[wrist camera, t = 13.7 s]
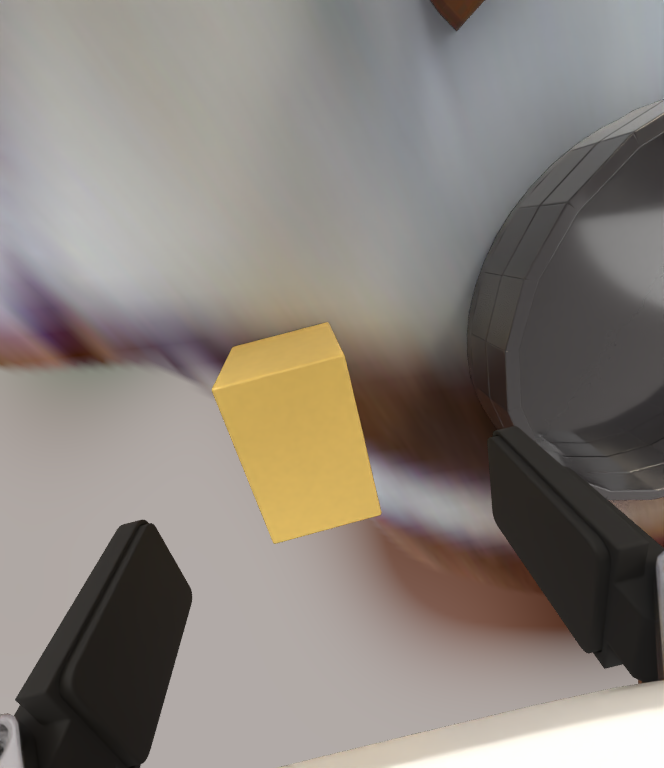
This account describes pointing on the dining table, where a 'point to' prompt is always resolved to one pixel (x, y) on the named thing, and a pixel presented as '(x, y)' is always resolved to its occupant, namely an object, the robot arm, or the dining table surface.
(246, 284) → the dining table surface
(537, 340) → the round cake pan
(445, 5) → the food container
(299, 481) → the cheese
